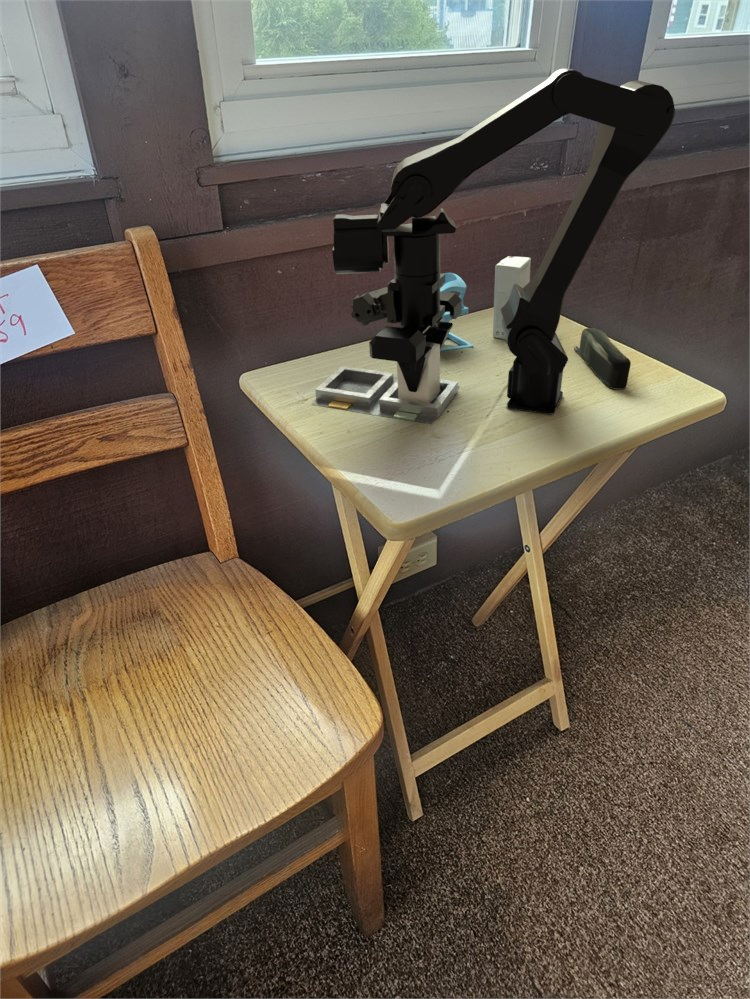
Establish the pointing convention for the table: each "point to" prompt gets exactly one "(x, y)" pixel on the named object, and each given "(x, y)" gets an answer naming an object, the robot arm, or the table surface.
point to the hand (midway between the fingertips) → (419, 383)
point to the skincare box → (508, 286)
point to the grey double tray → (379, 395)
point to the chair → (458, 284)
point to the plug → (423, 379)
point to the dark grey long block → (604, 358)
